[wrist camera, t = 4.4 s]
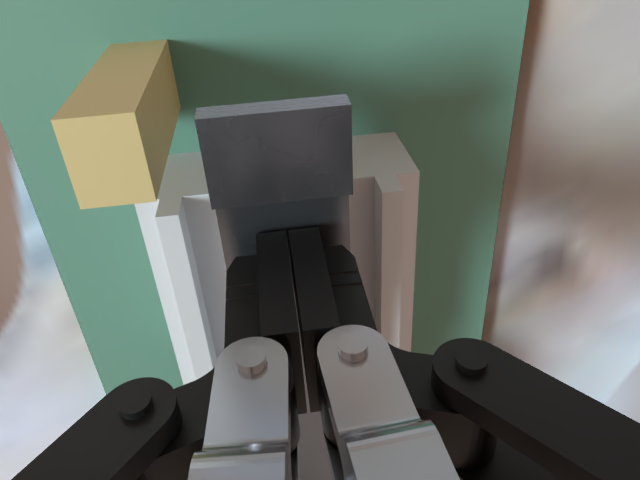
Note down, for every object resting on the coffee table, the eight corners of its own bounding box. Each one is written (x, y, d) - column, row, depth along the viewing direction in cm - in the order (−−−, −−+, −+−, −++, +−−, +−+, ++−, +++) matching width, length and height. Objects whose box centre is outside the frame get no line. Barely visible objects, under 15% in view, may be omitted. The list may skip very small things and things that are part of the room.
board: (-33, -9, 16) (-215, 66, 9) (521, -51, 17) (690, -10, 10) (126, 417, 25) (89, 593, 19) (466, 372, 27) (537, 523, 20)
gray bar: (177, 83, 12) (167, 121, 10) (356, 66, 13) (376, 102, 11) (258, 483, 21) (260, 541, 19) (362, 468, 21) (373, 524, 20)
